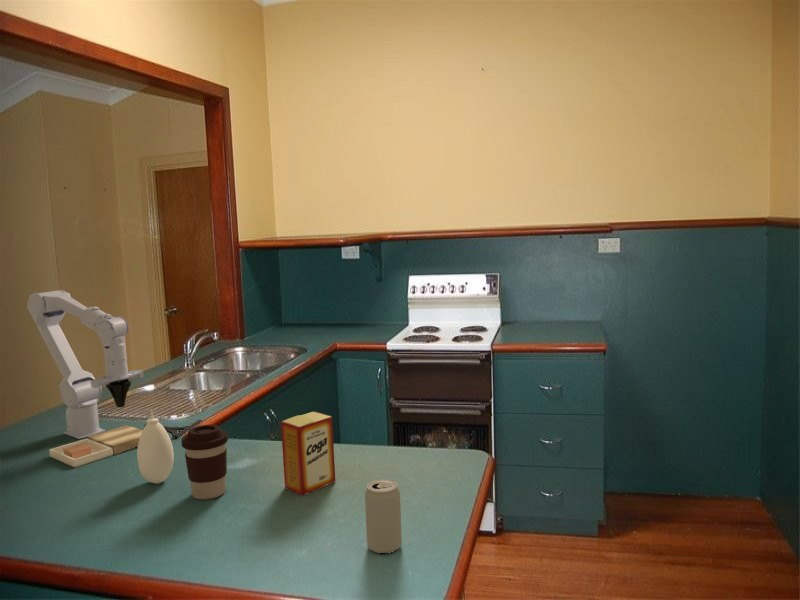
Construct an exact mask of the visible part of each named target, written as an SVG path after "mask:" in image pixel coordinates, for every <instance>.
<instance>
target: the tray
mask: <svg viewBox="0 0 800 600" xmlns="http://www.w3.org/2000/svg"><path fill="white" fill-rule="evenodd" d="M81 443H83V444H85V445H88V446H90V447H91V451H92V454H89V455H86V456H83V457H80V458H77V459H74V458H72V457H69V456H67V455H65V454H64V452H63V449H64V448H68V447H71V446H74V445H78V444H81ZM48 451H49V457H50V458H53V459H54V460H56V461H59V462H61V463H64V464H66V465H67V466H69V467H72V468H74V469H75V468H77V467H81V466H85V465H88V464H91V463H93V462H94V463H95V462H97V461H99V460H103V459H106V458H109V457H112V456H114V455H113V448H111V447H109V446H106V445H103V444H101V443H98V442H95V441H93V440H90V439H88V438H83V439H79V440H77V441H75V442H71V443H67V444H63V445H60V446H57V447H53V448H49V450H48Z"/></svg>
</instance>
